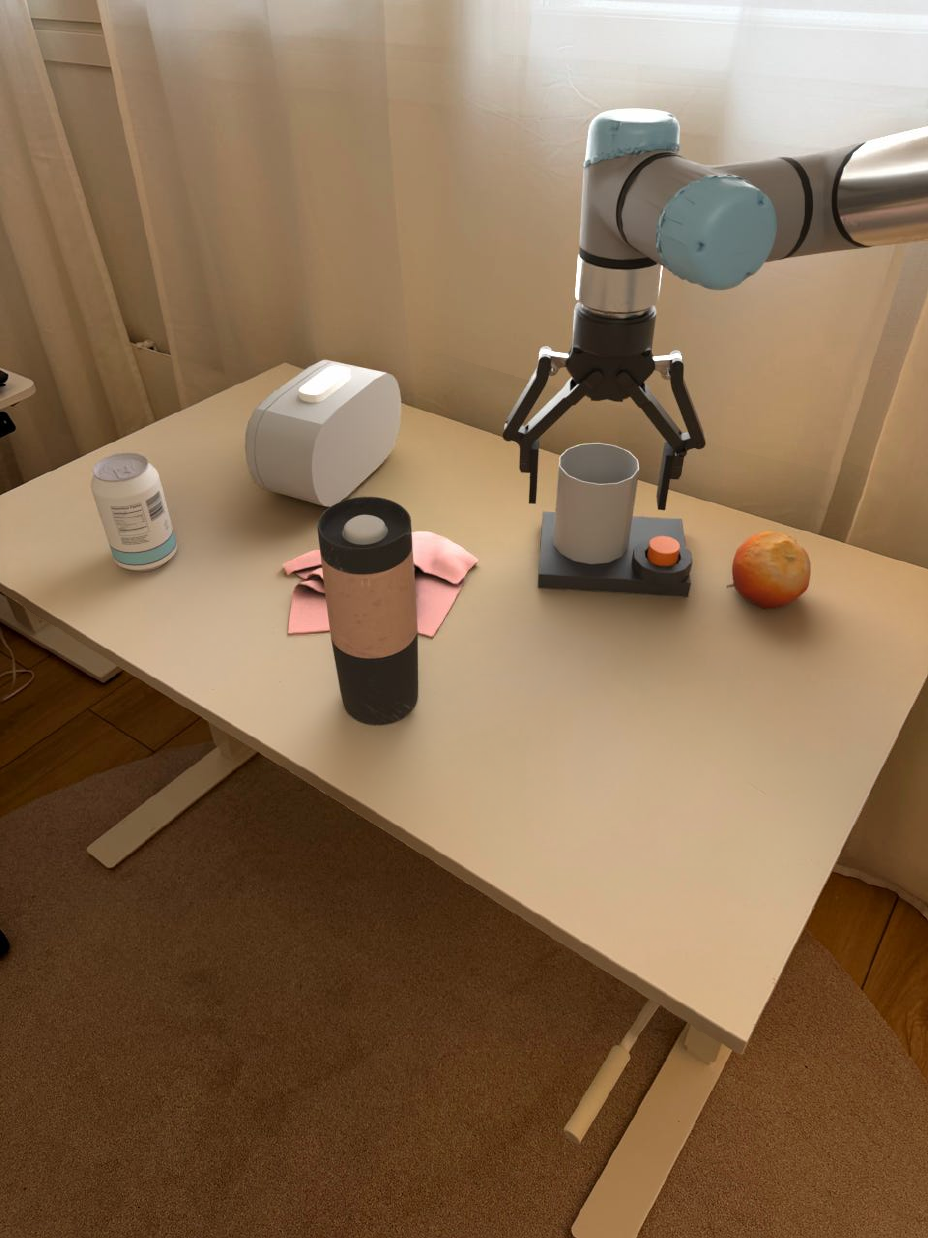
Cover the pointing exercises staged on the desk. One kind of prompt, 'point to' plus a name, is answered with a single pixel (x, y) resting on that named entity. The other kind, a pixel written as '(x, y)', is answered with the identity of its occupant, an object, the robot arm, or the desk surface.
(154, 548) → the beverage can
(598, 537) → the cup
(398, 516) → the travel mug
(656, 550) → the button
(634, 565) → the scale
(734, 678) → the desk surface
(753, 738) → the desk surface
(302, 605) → the cloth
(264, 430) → the alarm clock
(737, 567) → the fruit
